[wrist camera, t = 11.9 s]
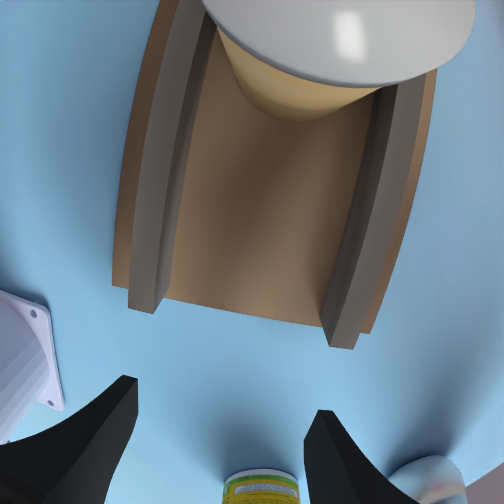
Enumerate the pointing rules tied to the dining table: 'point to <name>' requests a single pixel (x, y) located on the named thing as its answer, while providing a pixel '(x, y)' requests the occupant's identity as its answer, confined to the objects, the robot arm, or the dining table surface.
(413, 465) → the plastic bottle
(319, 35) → the jar
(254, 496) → the supplement bottle
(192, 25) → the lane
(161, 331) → the dining table surface
